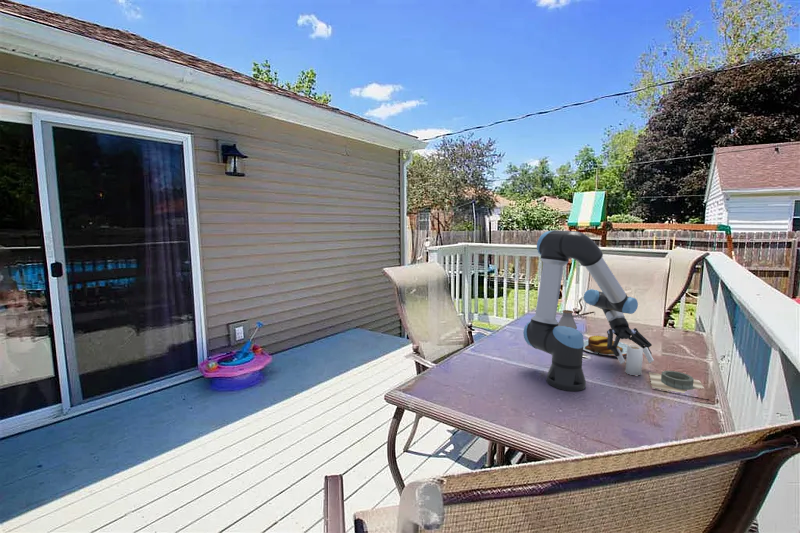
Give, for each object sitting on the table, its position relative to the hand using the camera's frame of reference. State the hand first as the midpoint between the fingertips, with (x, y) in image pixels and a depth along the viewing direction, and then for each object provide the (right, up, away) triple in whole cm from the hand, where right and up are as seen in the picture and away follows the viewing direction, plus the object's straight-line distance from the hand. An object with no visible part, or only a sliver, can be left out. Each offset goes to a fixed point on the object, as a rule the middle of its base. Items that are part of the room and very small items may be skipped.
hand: (637, 362), depth 162 cm
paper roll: (0, -6, +2) cm, 6 cm away
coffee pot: (+4, +1, +65) cm, 65 cm away
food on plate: (+4, -3, +33) cm, 33 cm away
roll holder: (+9, -7, -11) cm, 16 cm away
